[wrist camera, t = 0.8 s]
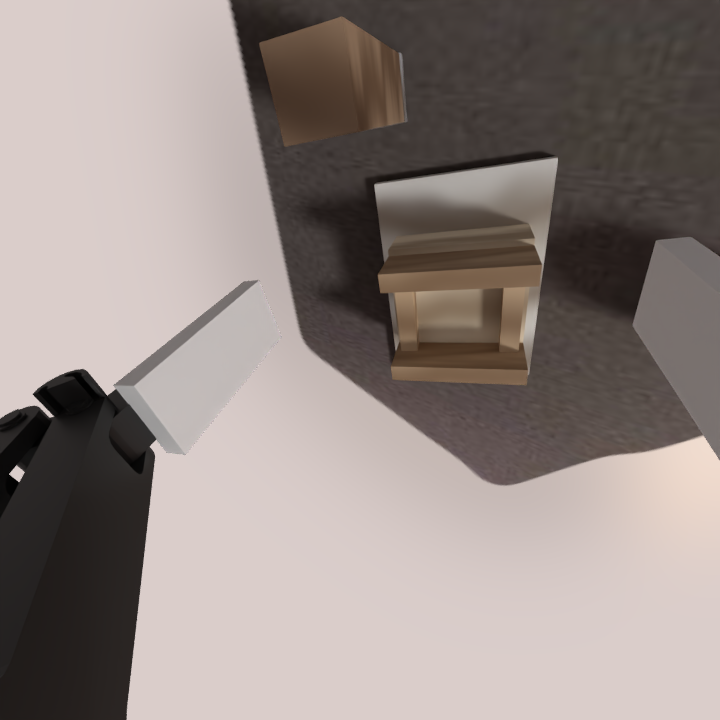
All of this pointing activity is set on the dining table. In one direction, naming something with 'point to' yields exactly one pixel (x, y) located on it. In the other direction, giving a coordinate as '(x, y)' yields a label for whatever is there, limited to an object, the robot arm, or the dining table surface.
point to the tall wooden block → (333, 82)
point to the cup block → (465, 269)
